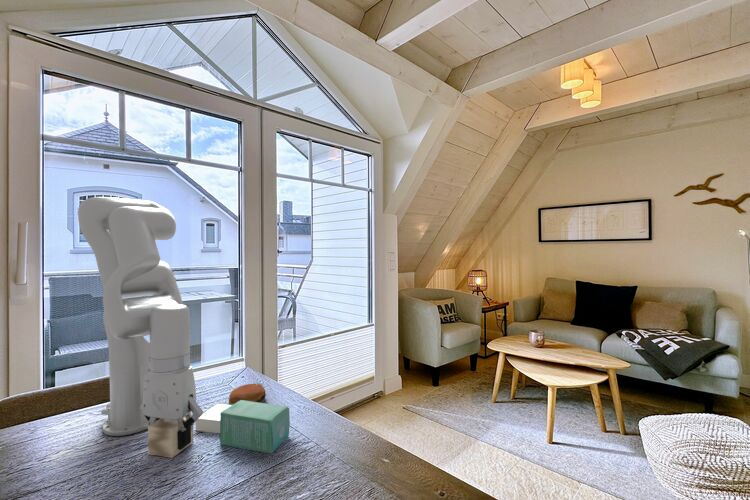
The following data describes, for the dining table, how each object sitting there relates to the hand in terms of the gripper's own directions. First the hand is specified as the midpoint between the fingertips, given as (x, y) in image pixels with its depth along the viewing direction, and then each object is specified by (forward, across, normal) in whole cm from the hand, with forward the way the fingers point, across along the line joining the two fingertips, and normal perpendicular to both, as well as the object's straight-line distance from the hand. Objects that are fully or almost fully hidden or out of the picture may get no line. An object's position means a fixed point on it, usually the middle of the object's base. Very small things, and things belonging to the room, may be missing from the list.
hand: (171, 443), depth 76 cm
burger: (+2, +3, +24) cm, 24 cm away
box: (+1, +16, +6) cm, 18 cm away
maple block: (+1, 0, 0) cm, 1 cm away
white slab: (+1, +4, +12) cm, 12 cm away
